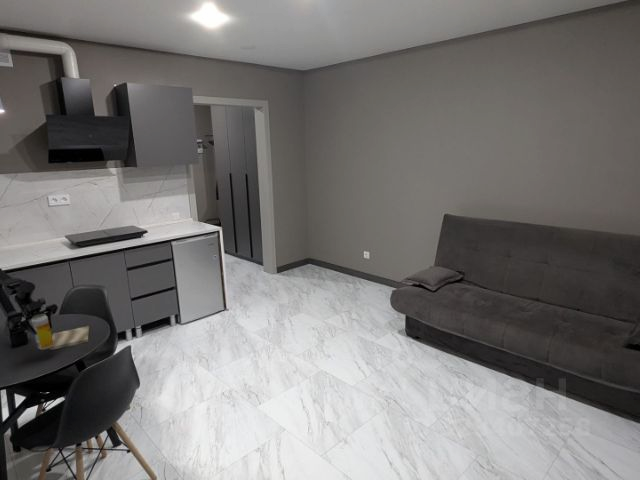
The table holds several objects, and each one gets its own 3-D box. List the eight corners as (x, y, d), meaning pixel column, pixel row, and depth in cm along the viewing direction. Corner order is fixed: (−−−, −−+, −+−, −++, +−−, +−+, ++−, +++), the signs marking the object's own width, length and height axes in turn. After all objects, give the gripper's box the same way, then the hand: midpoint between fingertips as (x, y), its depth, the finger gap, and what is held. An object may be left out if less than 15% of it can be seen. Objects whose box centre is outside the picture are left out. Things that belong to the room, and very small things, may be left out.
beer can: (57, 344, 186) (50, 314, 182) (44, 351, 181) (37, 320, 177) (47, 342, 188) (40, 313, 184) (34, 349, 183) (27, 318, 179)
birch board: (49, 350, 191) (48, 347, 191) (53, 336, 205) (53, 333, 205) (88, 341, 198) (87, 339, 198) (89, 328, 212) (89, 325, 212)
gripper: (5, 302, 172) (23, 331, 170) (52, 287, 187) (69, 314, 185) (1, 315, 178) (19, 343, 176) (46, 299, 194) (63, 326, 191)
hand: (43, 331), depth 182 cm, fingers closed on beer can, 6 cm apart
